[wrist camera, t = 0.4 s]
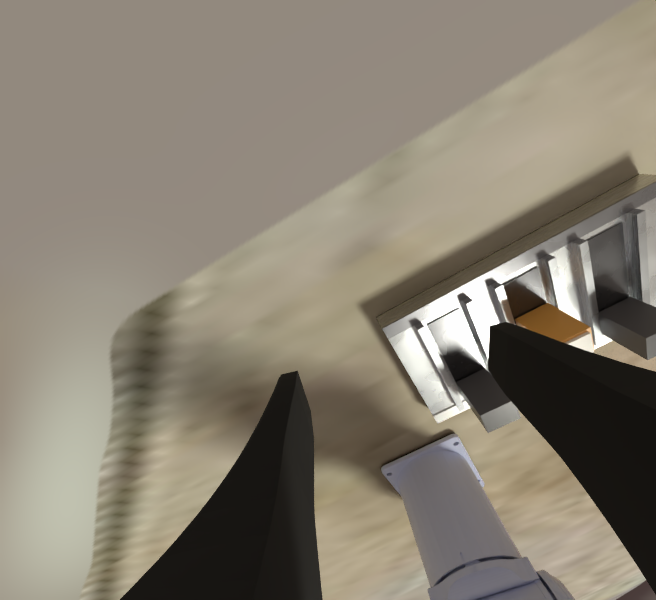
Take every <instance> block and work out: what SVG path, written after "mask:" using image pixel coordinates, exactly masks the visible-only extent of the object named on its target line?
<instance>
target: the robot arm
mask: <svg viewBox="0 0 656 600" xmlns="http://www.w3.org/2000/svg"><path fill="white" fill-rule="evenodd" d="M488 370H489V372H490V373H491V375H492V376H493V378H494V379H495V381H496V382H497V384H498V385H499V387H500V388H501V389H502V391H503V392H504V393H505V395H506V396H507V397H508V398H509V399H510V400H511V402H512V403H513V404H514V405H515V406H516V407H517V408H518V410H519V411H520V412H521V413H522V414H523V415H524V416H525V417H526V418H527V420H528V421H529V422H530V423H531V424H532V425H533V426H534V427H535V428H536V430H537V431H538V432H539V433H540V434H541V435H542V436H543V437H544V439H545V440H546V441H547V442H548V443H549V444H550V445H551V446H552V447H553V449H554V450H555V451H556V452H557V453H558V455H559V456H560V457H561V458H562V459H563V461H564V462H565V463H566V465H567V466H568V467H569V469H570V470H571V471H572V473H573V474H574V475H575V477H576V478H577V479H578V481H579V482H580V483H581V485H582V486H583V487H584V489H585V490H586V492H587V493H588V494H589V496H590V497H591V499H592V500H593V501H594V503H595V504H596V506H597V507H598V508H599V510H600V511H601V513H602V514H603V516H604V517H605V518H606V520H607V521H608V523H609V524H610V525H611V527H612V528H613V530H614V531H615V533H616V534H617V536H618V537H619V539H620V540H621V542H622V543H623V545H624V546H625V548H626V549H627V551H628V552H629V554H630V555H631V557H632V558H633V560H634V561H635V563H636V564H637V566H638V567H639V569H640V570H641V572H642V574H643V575H644V577H645V578H646V580H647V582H648V583H649V585H650V586H651V588H652V589H653V591H654V593H655V594H656V372H655V371H651V370H647V369H644V368H640V367H636V366H633V365H629V364H626V363H623V362H619V361H616V360H613V359H610V358H607V357H604V356H601V355H598V354H594V353H592V352H589V351H586V350H583V349H580V348H577V347H574V346H572V345H569V344H566V343H563V342H561V341H558V340H555V339H553V338H550V337H547V336H545V335H542V334H539V333H537V332H534V331H531V330H529V329H526V328H523V327H520V326H517V325H514V324H511V323H508V322H503V323H499V324H494V325H490V326H489V352H488ZM381 471H382V473H383V475H384V476H385V477H386V478H387V480H388V481H389V482H390V483H391V484H392V486H393V487H394V488H395V489H396V491H397V492H398V493H399V494H400V495H401V497H402V499H403V502H404V505H405V508H406V511H407V515H408V518H409V521H410V524H411V527H412V530H413V534H414V537H415V540H416V543H417V546H418V549H419V552H420V556H421V559H422V562H423V565H424V568H425V571H426V574H427V578H428V581H429V584H430V587H431V588H428V593H429V596H430V600H575V599H574V598H573V596H572V595H571V594H570V592H569V591H568V590H567V588H566V587H565V586H564V585H563V584H562V583H561V581H559V580H558V579H557V578H555V577H553V576H552V575H550V574H549V573H548V572H546V571H545V570H540V571H537V572H536V571H535V570H534V568H533V566H532V565H531V563H530V561H529V559H528V558H527V557H523V558H522V556H521V555H520V553H519V551H518V549H517V548H516V546H515V544H514V542H513V541H512V539H511V537H510V535H509V534H508V532H507V530H506V528H505V527H504V525H503V523H502V521H501V520H500V518H499V516H498V514H497V513H496V511H495V509H494V507H493V506H492V504H491V502H490V500H489V498H488V497H487V495H486V493H485V491H484V490H483V487H484V485H485V484H484V482H483V480H482V478H481V477H480V475H479V473H478V471H477V469H476V468H475V466H474V464H473V462H472V460H471V459H470V457H469V455H468V453H467V451H466V449H465V448H464V446H463V444H462V442H461V440H460V439H459V437H458V435H457V434H451V435H448V436H446V437H444V438H442V439H440V440H438V441H436V442H433V443H431V444H429V445H427V446H425V447H423V448H421V449H418V450H416V451H414V452H412V453H410V454H408V455H405V456H403V457H401V458H399V459H397V460H395V461H393V462H390V463H388V464H386V465H384V466H383V467H382V468H381ZM120 600H322V591H321V581H320V571H319V561H318V550H317V539H316V528H315V514H314V436H313V427H312V419H311V411H310V408H309V405H308V401H307V398H306V395H305V392H304V389H303V386H302V383H301V380H300V377H299V374H298V371H295V372H290V373H286V374H282V375H281V376H280V377H279V379H278V382H277V384H276V387H275V389H274V391H273V394H272V396H271V398H270V400H269V402H268V405H267V407H266V409H265V411H264V413H263V415H262V417H261V419H260V421H259V423H258V425H257V427H256V428H255V430H254V432H253V434H252V435H251V437H250V439H249V441H248V443H247V444H246V446H245V448H244V450H243V451H242V453H241V454H240V456H239V458H238V459H237V461H236V462H235V464H234V465H233V467H232V468H231V470H230V471H229V473H228V474H227V476H226V477H225V479H224V480H223V481H222V483H221V484H220V486H219V487H218V488H217V490H216V491H215V492H214V494H213V495H212V497H211V498H210V499H209V501H208V502H207V503H206V505H205V506H204V507H203V508H202V510H201V511H200V512H199V513H198V515H197V516H196V517H195V518H194V519H193V521H192V522H191V523H190V524H189V525H188V527H187V528H186V529H185V530H184V531H183V533H182V534H181V535H180V536H179V537H178V538H177V540H176V541H175V542H174V543H173V544H172V545H171V546H170V547H169V549H168V550H167V551H166V552H165V553H164V554H163V555H162V556H161V557H160V559H159V560H158V561H157V562H156V563H155V564H154V565H153V566H152V567H151V568H150V569H149V570H148V571H147V572H146V573H145V574H144V575H143V576H142V577H141V578H140V579H139V580H138V582H137V583H136V584H135V585H134V586H133V587H132V588H131V589H130V590H129V591H128V592H127V593H126V594H125V595H124V596H123V597H122V598H121V599H120Z"/></svg>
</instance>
